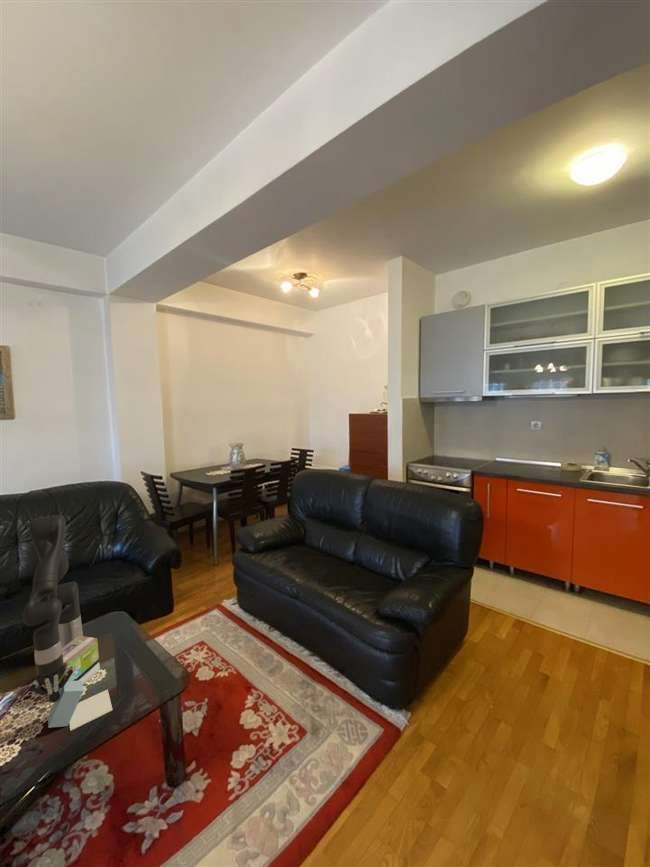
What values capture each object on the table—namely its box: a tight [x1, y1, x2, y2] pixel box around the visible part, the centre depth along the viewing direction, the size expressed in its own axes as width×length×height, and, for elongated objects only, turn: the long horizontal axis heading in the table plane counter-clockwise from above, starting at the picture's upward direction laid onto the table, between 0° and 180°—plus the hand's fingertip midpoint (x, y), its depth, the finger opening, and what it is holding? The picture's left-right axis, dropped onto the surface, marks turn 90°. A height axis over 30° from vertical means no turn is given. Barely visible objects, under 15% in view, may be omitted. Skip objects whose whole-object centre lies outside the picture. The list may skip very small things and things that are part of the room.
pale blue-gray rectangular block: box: [47, 681, 84, 729], centre depth 131 cm, size 6×6×12 cm
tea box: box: [52, 635, 101, 690], centre depth 149 cm, size 15×10×15 cm, turn 168°
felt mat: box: [69, 689, 113, 732], centre depth 136 cm, size 12×13×1 cm
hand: (54, 700), depth 129 cm, fingers closed
